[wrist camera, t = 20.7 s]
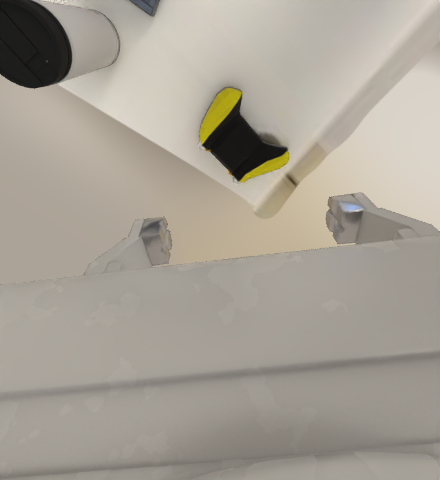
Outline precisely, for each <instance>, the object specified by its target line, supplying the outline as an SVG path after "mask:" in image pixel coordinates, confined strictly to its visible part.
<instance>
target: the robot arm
mask: <svg viewBox="0 0 440 480" xmlns="http://www.w3.org/2000/svg"><path fill="white" fill-rule="evenodd" d="M328 206H329V208H330V209H329V210H328V211H327V213H326V224H327V227H328V229H329V230H330V231H332V232H333V237H334V239H335V240H336V242H337V244H344V243H356V244H355V245H346V246H337V247H329V248H320V249H311V250H302V251H293V252H285V253H276V254H267V255H258V256H249V257H241V258H232V259H223V260H214V261H205V262H196V263H188V264H180V265H170V266H161V267H153V268H151V267H152V266H153V265H160V264H167V263H169V259H170V252H169V250H171V247H172V240H171V234H170V231H169V230H168V229H167V225H168V224H167V220H166V218H165V217H156V218H147V219H138V220H135V221H134V223H133V225H132V228H131V230H130V233H129V236H128V238H125V239H123V240H122V241H120V242H119V243H117V244H116V245H115V246H114V247H112V248H111V249H109V250H108V251H106V252H105V253H104V254H102V255H101V256H99V257H98V258H97V259H95V260H94V261H92V262H91V263H90V264H89V265H88V267H87V269H86V271H85V273H84V275H82V276H73V277H64V278H56V279H46V280H38V281H29V282H20V283H9V284H0V480H440V231H438V230H437V229H436V228H435V227H434V226H433V225H431V224H428V223H425V222H422V221H419V220H416V219H413V218H410V217H407V216H404V215H401V214H398V213H395V212H392V211H389V210H386V209H383V208H377V207H376V206H375V205H374V204H373V203H372V202H371V201H370V200H369V199H368V198H367V197H366V196H365V195H364V193H361V192H360V193H353V194H346V195H340V196H333V197H329V199H328Z"/></svg>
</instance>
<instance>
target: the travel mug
mask: <svg viewBox="0 0 440 480" xmlns="http://www.w3.org/2000/svg"><path fill="white" fill-rule="evenodd" d="M119 50H120V41H119V36H118V33H117V31H116V29H115V27H114V25H113V24H112V22H111V21H110V20H109V19H108V18H107V17H106V16H105V15H103V14H102V13H100V12H98V11H95V10H90V9H85V8H79V7H74V6H68V5H63V4H58V3H52V2H47V1H42V0H0V74H1V75H2V76H4V77H5V78H7V79H8V80H10V81H11V82H13V83H16V84H18V85H20V86H24V87H27V88H39V87H45V86H49V85H54V84H57V83H60V82H63V81H66V80H69V79H72V78H75V77H77V76H80V75H83V74H86V73H89V72H92V71H95V70H98V69H101V68H103V67H106V66H109V65H111V64H112V63H114V61H115V60H116V59H117V57H118V54H119Z"/></svg>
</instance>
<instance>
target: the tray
mask: <svg viewBox="0 0 440 480" xmlns="http://www.w3.org/2000/svg"><path fill="white" fill-rule="evenodd" d="M130 1H131V2H132V3H134V4H135V5H137V6H138V7H139V8H141V9H142V10H144V11H145V12H146V13H148V14H149V15H151V16H154V15H155V12H156V10H157V7H158V4H159V1H160V0H130Z"/></svg>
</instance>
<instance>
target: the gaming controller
mask: <svg viewBox="0 0 440 480" xmlns="http://www.w3.org/2000/svg"><path fill="white" fill-rule="evenodd" d="M242 93H243V92H242V91H241V90H239V89H237V88H233V87H225V88H223V89H222V90H221V91H220V92H219V93H217V95H216V97H215V98H214V100H213V102H212V104H211V105H210V107H209V109H208V110H207V112H206V115H205V117H204V119H203V122H202V124H201V128H200V135H199V137H200V141H199V143H198V146H199V148H200V149H201V150H202V149H205V150H206V151H210V152H211V153H212V154H213V155H214V156H215V157H216V158H217V159H218V160H219V161H220V162H221V163H222V164H223V165H224V166H225V167H226V168H227V169H228V172H229V174H230V175H232V176H233V182H234V183H235V184H239V183H241V182H245V181H246V180H248V179H250V178H253V177H256V176H259V175H261V174H264V173H267V172H270V171H274V170H277V169H280V168H281V167H283V166H284V165H285V164H287V163H288V161H289V152H288V148H287V147H285V146H279V145H274V144H270V143H266V142H264V141H262V140H261V139H260V137H259V136H258V135H257V134H256V133H255V132H254V130H253V129H252V128H251V127H250V126H249V124H248V123H247V122H246V121H245V120H244V119H243V117H242V116H241V115H240V112H239V111H240V106H241V100H242Z"/></svg>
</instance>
